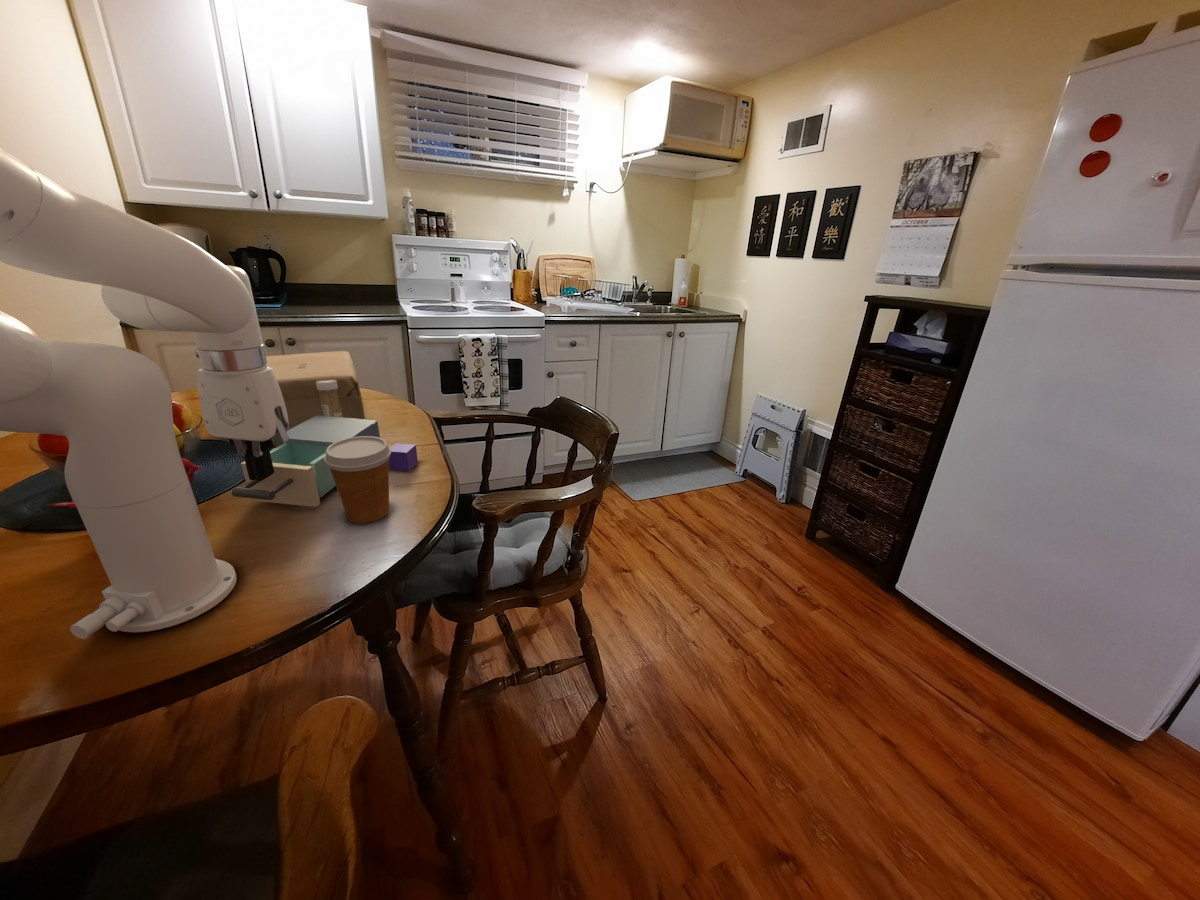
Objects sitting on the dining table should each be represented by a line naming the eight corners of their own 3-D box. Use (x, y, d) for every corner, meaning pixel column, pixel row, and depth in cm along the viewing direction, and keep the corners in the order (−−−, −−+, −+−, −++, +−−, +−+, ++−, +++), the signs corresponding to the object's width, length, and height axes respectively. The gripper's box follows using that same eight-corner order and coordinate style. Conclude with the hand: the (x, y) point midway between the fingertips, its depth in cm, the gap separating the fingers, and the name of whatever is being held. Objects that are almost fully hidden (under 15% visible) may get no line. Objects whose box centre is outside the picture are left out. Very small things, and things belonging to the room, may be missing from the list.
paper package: (245, 412, 119) (230, 355, 114) (361, 400, 130) (353, 348, 125) (227, 454, 98) (207, 386, 92) (368, 436, 109) (358, 375, 103)
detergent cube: (408, 471, 95) (406, 452, 93) (389, 469, 95) (386, 451, 94) (418, 462, 99) (416, 444, 97) (399, 461, 99) (396, 442, 97)
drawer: (292, 525, 75) (282, 486, 72) (223, 518, 76) (210, 479, 73) (352, 477, 90) (346, 443, 87) (293, 472, 91) (285, 438, 88)
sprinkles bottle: (350, 440, 107) (340, 380, 102) (327, 443, 105) (315, 383, 99) (347, 433, 110) (336, 375, 105) (324, 436, 108) (312, 377, 103)
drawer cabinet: (350, 487, 88) (342, 443, 85) (285, 480, 89) (274, 437, 86) (383, 460, 99) (377, 420, 95) (324, 454, 100) (316, 415, 96)
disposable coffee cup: (337, 503, 83) (324, 438, 78) (398, 495, 87) (389, 432, 82) (334, 533, 75) (319, 463, 70) (400, 522, 79) (391, 455, 74)
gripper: (160, 360, 66) (196, 483, 73) (264, 368, 65) (291, 492, 72) (207, 350, 73) (236, 463, 80) (302, 357, 71) (323, 471, 78)
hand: (262, 476), depth 76 cm, fingers closed
